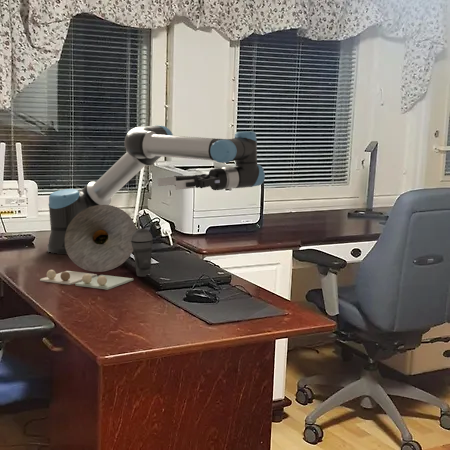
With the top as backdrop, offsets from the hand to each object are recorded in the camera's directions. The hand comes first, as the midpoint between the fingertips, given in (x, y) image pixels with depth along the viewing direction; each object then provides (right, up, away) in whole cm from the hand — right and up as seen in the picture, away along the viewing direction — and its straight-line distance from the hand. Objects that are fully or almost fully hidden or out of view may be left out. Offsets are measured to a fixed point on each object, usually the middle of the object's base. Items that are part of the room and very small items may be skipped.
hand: (166, 183), depth 245 cm
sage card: (-19, -32, -9) cm, 38 cm away
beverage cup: (-8, -30, 0) cm, 31 cm away
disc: (-23, -28, +16) cm, 40 cm away
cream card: (-32, -31, -2) cm, 45 cm away
